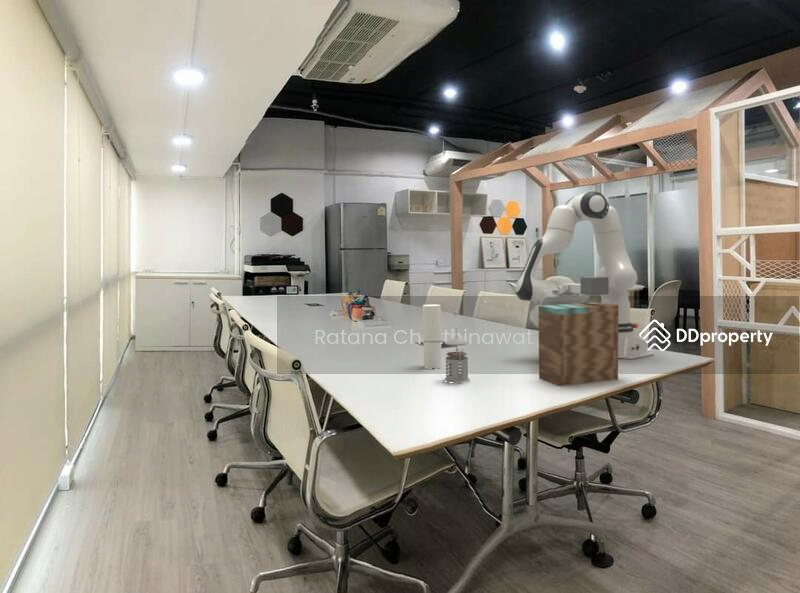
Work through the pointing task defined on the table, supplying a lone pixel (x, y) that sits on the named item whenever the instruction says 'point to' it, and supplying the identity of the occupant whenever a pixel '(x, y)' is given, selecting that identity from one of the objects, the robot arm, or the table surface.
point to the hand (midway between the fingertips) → (574, 286)
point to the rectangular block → (590, 286)
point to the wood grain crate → (578, 343)
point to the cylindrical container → (432, 336)
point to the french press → (456, 361)
